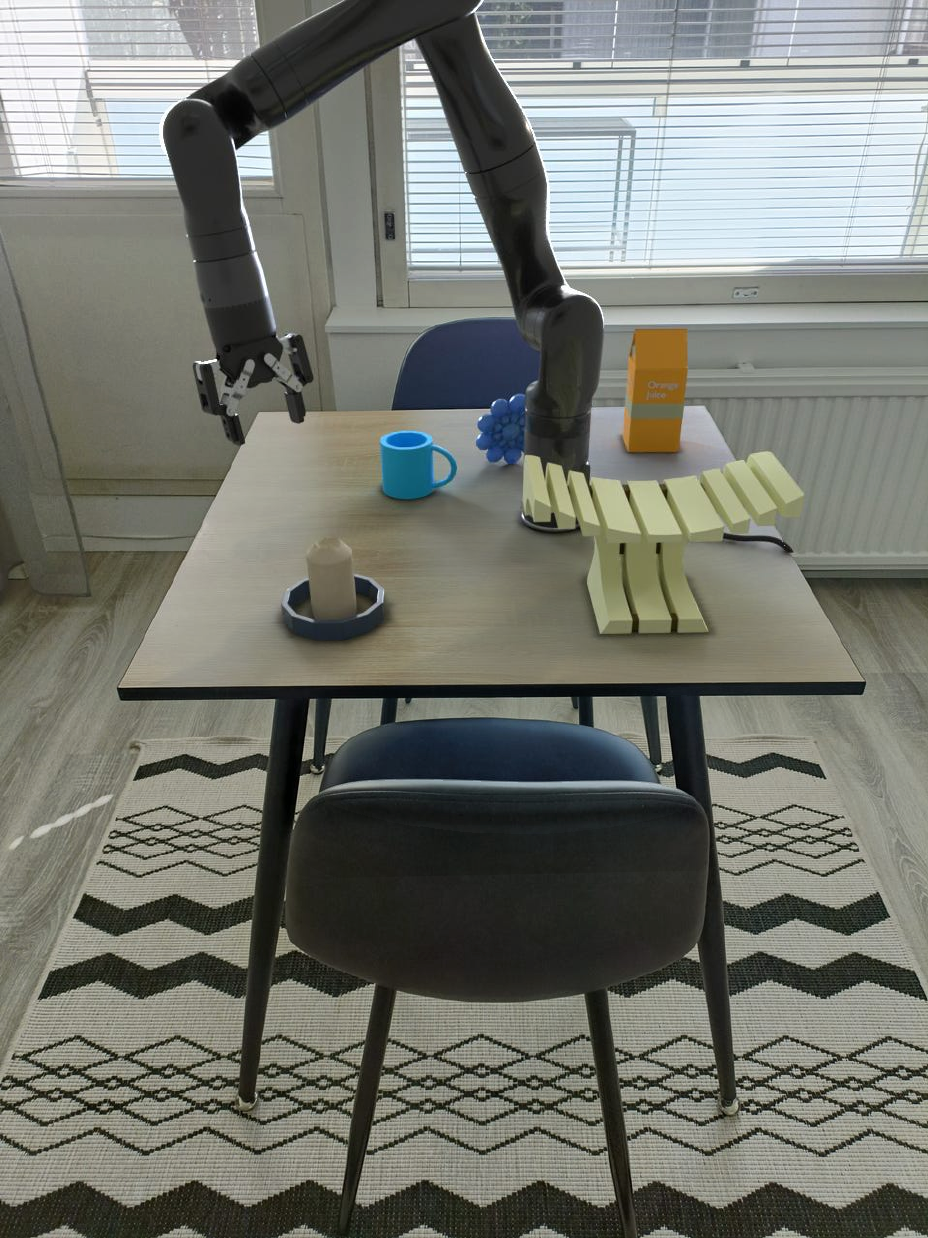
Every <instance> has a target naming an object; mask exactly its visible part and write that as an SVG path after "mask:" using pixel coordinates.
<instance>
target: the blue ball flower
mask: <svg viewBox="0 0 928 1238" xmlns="http://www.w3.org/2000/svg"><path fill="white" fill-rule="evenodd" d="M525 395H526V394H523V393H517V394H515V395H513V396H512V397H511V398H510V400H509V402H508V401H507V399H506V398H498V399H496V400H495V401H493V402H492V404H491V405H490V413H485V414H483V415H481V416H480V417H479V419H478V421H477V425H476V426H477V429H478V430H479V431H480V432H481V433H480V434H478V436H477V438H476V440H475V446H476V447H477V449H479V451H486V453H485V457H486V459H487V461H488V462H489V463H494V464H495V463H498V462H500V461H501V460H502V459H503V460H504V462H506V464H509V465H514V464H516V463H518V462H519V461H520V459H521V457H522V453H523V454H524V432H525Z"/></svg>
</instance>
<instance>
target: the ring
mask: <svg viewBox="0 0 928 1238" xmlns="http://www.w3.org/2000/svg"><path fill="white" fill-rule="evenodd" d="M354 581H355V594H358V595H360V596H361V595H362V596H364V597H368V598H370V599H371V600H372V601H373V602H374V604H372V605H371V606H370V607H369V608H368V609H366V610H365V611H364V612H362V613H359V614H356V615H355V616H352V617H349V618H345V619H342V620H315V618H311V617H307V616H304V615H301V614H297V613H296V612H295V610H294V608H295V607H296V606H298V605H299V604H301V603H302V602H303V601H305V600H306V599H308V598H311V595H310V586H309V577H306V578H305V577H304V578H302V579H300V580H299V581H297V582H296V583H294V584H293V585H292V586H290V587H288V588H287V589H285V591H284V594H283V597H282V600H281V603H280V604H281V613H282V621H283V623H284V624H285V625H286V626H287V628H288V629H289V630H290V631H291V632H292V633H293V634H294V635H297V636H300V637H303V638H307V639H309V640H313V641H345V640H348V639H352V638H355V637H357V636H358V637H359V636H361V635H364V634H365V635H366V634H367V633H370V632H371V631H372V630H373V629H375V628H376V627H377V626H378V625H380V623H382V622H383V621H384V619H385V612H386V611H385V610H386V600H385V599H386V598H385V597H386V595H385V589H384V588H383V587H382V585H380V584H379V583H378V582H377V581H376V580H375V579H374V578H372V577H370V576H369V577H368V576H365V575H361V574H358V573H354Z"/></svg>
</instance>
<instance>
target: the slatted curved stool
mask: <svg viewBox="0 0 928 1238" xmlns="http://www.w3.org/2000/svg"><path fill="white" fill-rule="evenodd" d="M522 477H523V478H522V479H523V481H522V502H523V506H524V511H525V516H526V515H530V514H532V516H533V521H534V522H550V520H551V513H554V514H555V517H556V521H557V525H558V529H574V530H576V529H575V521H576V517H577V519H578V522H579V525H580V527H579V528H580V532H581V534H582V537H593V539H594V550H593V557H592V560H591V564H590V568H589V571H588V574H587V579H586V585H587V588H588V592H589V596H590V597H589V598H590V600H591V604H592V605H591V606H592V608H593V612H594V615H595V620H596V624H597V627H598V631H599V634H600V635H610V634H611V635H614V634H615V635H616V634H617V635H619V634H620V635H621V634H625V635H627V634H632V631H638V634H668V633H669V634H670V633H671V631H672V630H673V631H674V630H676V631H677V633H683V634H685V633H687V634H688V633H709V632H710V631H709V628H708V627H707V624H706V622H705V620H704V618H703V615H702V613H701V610H700V609H699V606H698V604H697V602H696V599H695V598H694V595H693V593H692V590H691V588H690V586H689V583H688V580H687V576H686V573H685V569H684V568H685V567H684V553H685V552H684V551H685V548H686V545H687V543H688V542H689V543H698V542H699V543H706V542H710V543H711V542H713V543H717V542H723V540H724V539H723V533H725V526H726V527H727V529H728V530H729V532H730V534H734V535H749V530H750V525H751V519H752V520H753V521H754V523H755V524H756V526H757V527H771V526H772V527H774V526H775V524H776V519H777V512H779V514H780V516H782V518H783V519H801V517H802V512H803V508H804V507H803V506H804V501H805V497H806V496H805V495H806V494H805V493H804V491H803V490H802V489H801V488H800V487H799V485H798V484H797V483H796V481H795V480H794V479H793V478H792V476H791V475H790V474H789V472H788V471H787V470H786V469H785V468H784V466H783V465H782V463H781V462H780V461H779V460H778V458H777V457H776V456H775V455H774V453H773V452H771V451H759V452H753V453H750V454H749V455H748V457H747V459H746V461H745V460H744V459H740V460H734V461H729V462H726V463H725V464H724V466H723V469H722V471H721V469H720V468H719V467H716V468H712V469H708V470H702V471H701V473H700V477H699V479H698V477H697V475H690V476H689V475H688V476H682V477H675V478H674V477H673V478H666V479H665V478H664V479H663V482H662V483H659V482H658V481H657V479H654V480H653V479H652V480H626V484H622V481H621V480H620V479H611V478H602V477H596V476H595V477H594V476H590V484H589V485H587V483H586V480H585V477H584V474H583V473H580V472H575V471H570V470H569V474H568V482H567V484H566V480H565V477H564V473H563V469H562V466H560V465H556V464H552V463H547V467H546V479H545V478H544V474H543V469H542V465H541V461H540V457H537V456H533V455H525V459H524V458H523V476H522ZM575 516H576V517H575ZM724 524H725V525H724ZM629 607H630V608H629ZM630 610H631V611H630Z"/></svg>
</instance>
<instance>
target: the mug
mask: <svg viewBox="0 0 928 1238" xmlns="http://www.w3.org/2000/svg"><path fill="white" fill-rule="evenodd" d="M433 439H434V438H433V437H432V436H431V434H428V432H427V433H426V432H423V431H418V430H399V431H394V432H389V433H387V434H385V435H383V436H382V437H380V441H379V445H380V446H379V447H380V463H381V480H382V482H381V483H382V491H383V493H384V494H385V495H386V496H388V497H391V498H393V499H398V500H399V499H400V500H414V499H415V500H416V499H420V498H424V497H426V496H429V495H431V494H432V493H433V492H434V490H435V488H436V489H437V488H441V487H443V486H446V485H447V484H449V483H451V482H452V481H453V479H454V478H455V477H456V475H457V471H458V465H457V460H456V459H455V457H454V456H453V454H452V453H451V452H449V451H448V450H447V449H445V448H444V447H441V446H439V445H435V444H434V442H433V441H434V440H433ZM434 451H435V452H436V453H439V454H441V455H442V456H444V457H445V458H446V459H447V461H448V463H449V465H450V472H449V474H448V475H447V477H445V478H444V479H442V480H439V481H436V482H435V475H434V473H435V471H434Z"/></svg>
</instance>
